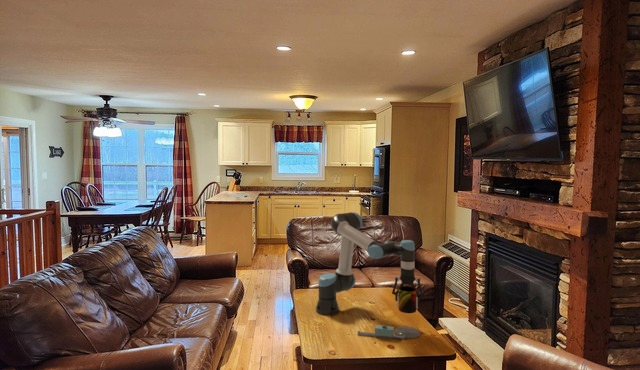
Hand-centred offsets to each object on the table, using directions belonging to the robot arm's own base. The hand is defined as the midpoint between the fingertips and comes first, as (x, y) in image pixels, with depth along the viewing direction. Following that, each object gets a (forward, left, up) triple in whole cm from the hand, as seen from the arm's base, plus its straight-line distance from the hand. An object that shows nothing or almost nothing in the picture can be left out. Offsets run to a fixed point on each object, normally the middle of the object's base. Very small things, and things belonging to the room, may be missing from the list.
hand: (407, 307), depth 213 cm
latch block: (+8, -12, -13) cm, 20 cm away
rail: (+8, -14, -15) cm, 22 cm away
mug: (-1, -1, -1) cm, 2 cm away
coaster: (0, 0, -15) cm, 15 cm away
